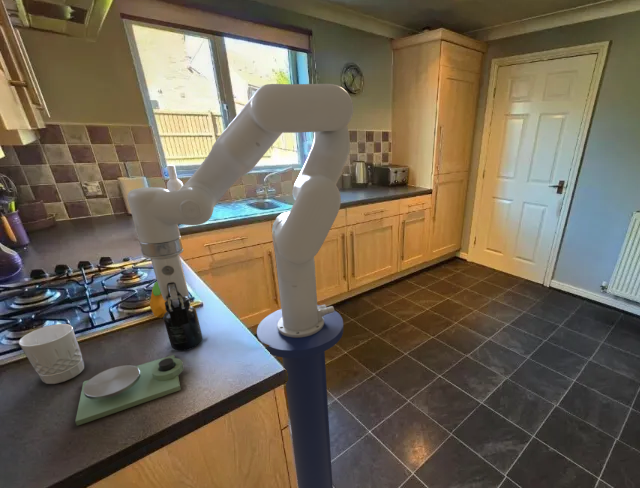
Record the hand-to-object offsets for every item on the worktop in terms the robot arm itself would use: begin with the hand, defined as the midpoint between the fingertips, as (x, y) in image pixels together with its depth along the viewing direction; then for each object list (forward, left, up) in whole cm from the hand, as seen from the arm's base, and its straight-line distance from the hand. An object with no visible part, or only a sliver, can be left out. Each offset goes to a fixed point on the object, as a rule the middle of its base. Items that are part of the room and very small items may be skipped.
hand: (178, 314), depth 78 cm
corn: (+3, -21, -8) cm, 23 cm away
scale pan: (+13, +11, -6) cm, 18 cm away
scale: (+11, +11, -8) cm, 17 cm away
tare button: (+4, +11, -6) cm, 13 cm away
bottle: (-12, -130, -8) cm, 131 cm away
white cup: (+23, -2, -8) cm, 24 cm away
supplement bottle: (0, 0, -8) cm, 8 cm away
